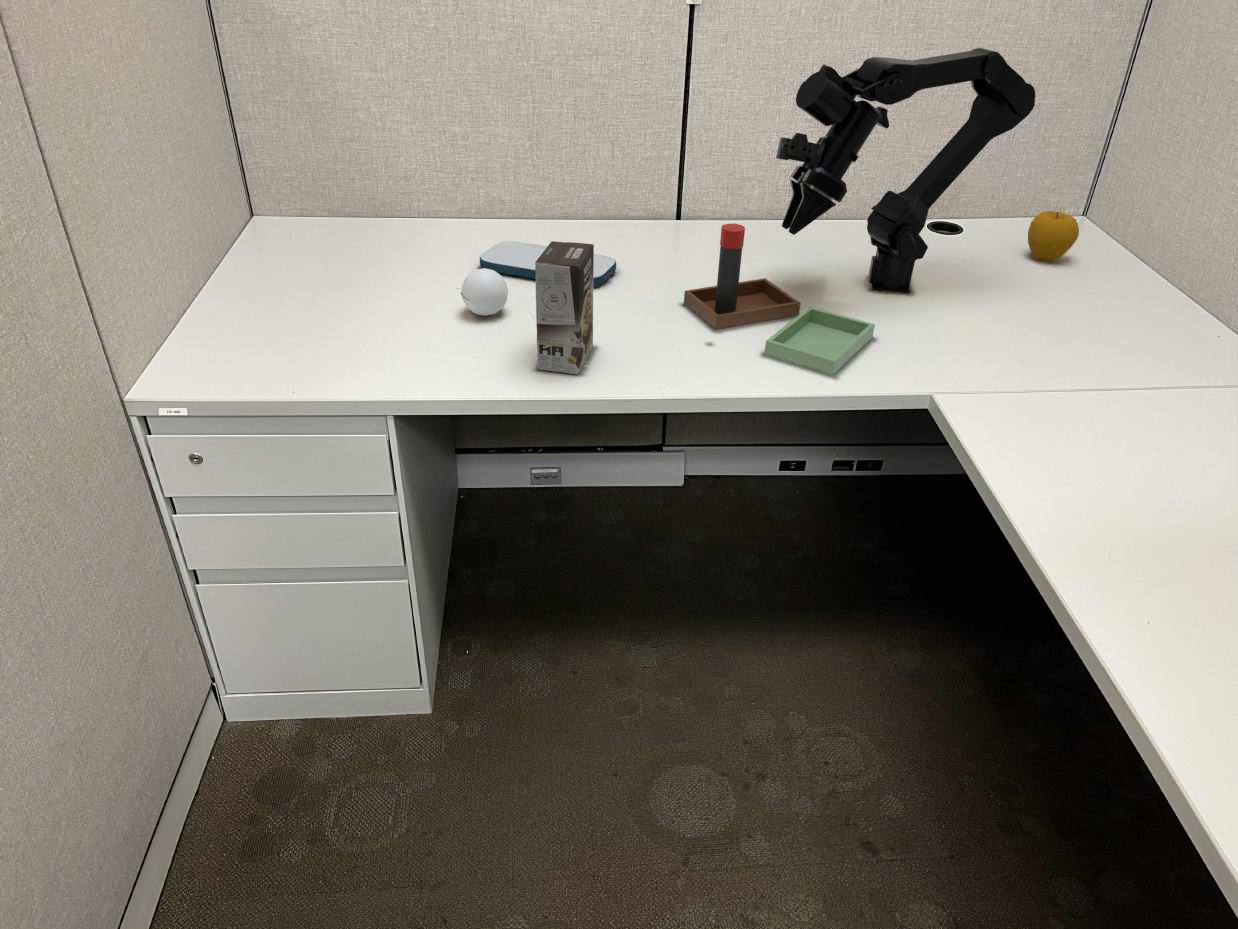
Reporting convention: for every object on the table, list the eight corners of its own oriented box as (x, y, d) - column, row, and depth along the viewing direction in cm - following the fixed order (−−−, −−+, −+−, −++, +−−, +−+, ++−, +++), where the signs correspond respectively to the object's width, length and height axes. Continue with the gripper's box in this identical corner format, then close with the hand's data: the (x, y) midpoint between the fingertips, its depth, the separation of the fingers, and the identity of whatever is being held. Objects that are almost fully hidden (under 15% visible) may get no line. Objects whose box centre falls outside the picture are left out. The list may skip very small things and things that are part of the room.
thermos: (740, 311, 142) (749, 227, 135) (727, 318, 140) (736, 232, 132) (722, 305, 144) (730, 221, 136) (709, 312, 142) (716, 227, 134)
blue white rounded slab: (473, 270, 155) (472, 260, 154) (502, 249, 164) (502, 239, 163) (598, 291, 148) (598, 280, 147) (621, 268, 157) (621, 257, 156)
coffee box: (580, 375, 124) (580, 266, 115) (536, 370, 125) (532, 261, 116) (594, 347, 131) (595, 242, 122) (553, 342, 132) (551, 238, 123)
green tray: (807, 320, 141) (809, 306, 139) (872, 339, 136) (875, 324, 134) (763, 355, 130) (765, 340, 129) (832, 376, 125) (835, 361, 124)
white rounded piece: (515, 307, 143) (513, 263, 139) (499, 325, 137) (497, 281, 133) (458, 299, 144) (454, 256, 140) (440, 318, 139) (435, 273, 134)
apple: (1073, 256, 168) (1088, 210, 163) (1065, 270, 162) (1080, 223, 157) (1026, 247, 171) (1039, 202, 166) (1017, 260, 165) (1030, 213, 160)
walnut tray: (763, 291, 150) (765, 278, 149) (798, 316, 142) (800, 302, 141) (683, 304, 145) (684, 290, 144) (715, 331, 137) (716, 316, 135)
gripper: (792, 114, 143) (740, 200, 148) (809, 110, 125) (749, 208, 130) (849, 150, 144) (796, 234, 149) (873, 151, 127) (812, 247, 132)
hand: (787, 230), depth 140 cm, fingers open, 9 cm apart
